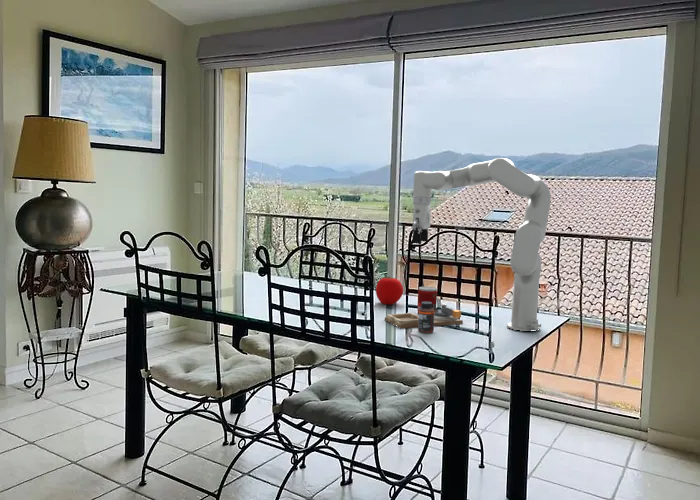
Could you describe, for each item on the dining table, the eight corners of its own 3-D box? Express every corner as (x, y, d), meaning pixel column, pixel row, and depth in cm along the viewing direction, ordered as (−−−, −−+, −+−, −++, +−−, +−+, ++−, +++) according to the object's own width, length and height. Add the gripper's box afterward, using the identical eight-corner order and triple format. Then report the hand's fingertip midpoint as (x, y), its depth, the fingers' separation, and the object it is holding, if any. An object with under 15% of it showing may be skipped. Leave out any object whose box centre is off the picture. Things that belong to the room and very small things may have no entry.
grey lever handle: (431, 313, 261) (431, 302, 260) (445, 311, 264) (446, 301, 263) (450, 321, 247) (451, 310, 247) (465, 320, 250) (466, 309, 250)
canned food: (435, 316, 267) (436, 290, 265) (416, 314, 268) (417, 289, 267) (436, 312, 274) (437, 287, 273) (418, 310, 276) (419, 285, 274)
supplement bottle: (430, 329, 244) (431, 300, 242) (435, 333, 238) (437, 303, 237) (415, 329, 243) (416, 300, 241) (420, 334, 237) (422, 304, 235)
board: (464, 323, 255) (465, 316, 255) (400, 328, 244) (400, 321, 244) (446, 315, 268) (446, 309, 268) (384, 320, 257) (384, 313, 256)
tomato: (371, 304, 285) (372, 277, 284) (380, 300, 296) (381, 273, 295) (397, 307, 281) (398, 279, 279) (405, 302, 291) (406, 275, 290)
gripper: (424, 202, 254) (422, 244, 256) (436, 200, 269) (435, 241, 272) (406, 201, 257) (404, 243, 259) (420, 200, 272) (418, 239, 275)
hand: (420, 242), depth 265 cm, fingers open, 9 cm apart
